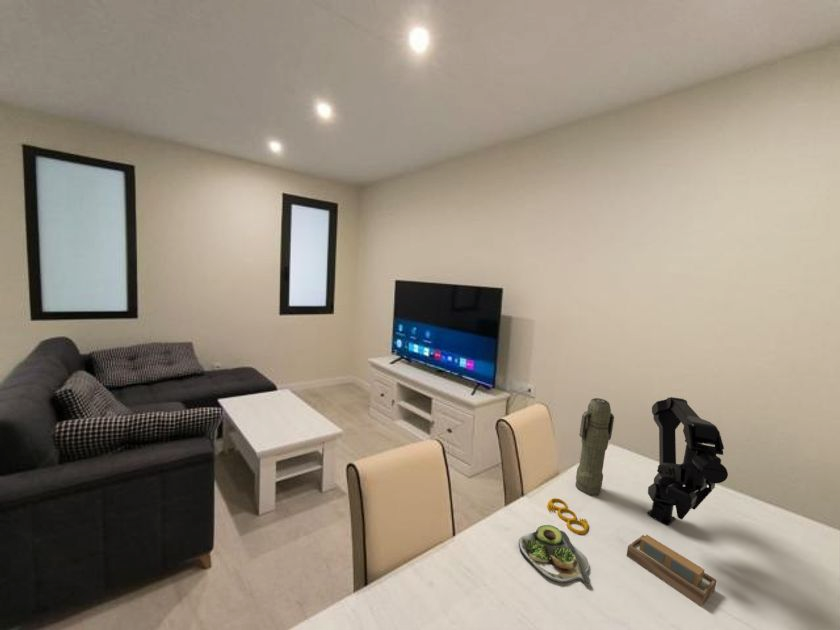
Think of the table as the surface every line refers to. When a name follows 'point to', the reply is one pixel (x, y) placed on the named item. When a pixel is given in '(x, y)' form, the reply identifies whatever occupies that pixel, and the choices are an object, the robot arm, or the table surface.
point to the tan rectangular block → (672, 560)
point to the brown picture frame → (672, 575)
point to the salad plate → (555, 554)
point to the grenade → (594, 445)
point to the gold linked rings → (568, 520)
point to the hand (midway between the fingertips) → (686, 513)
